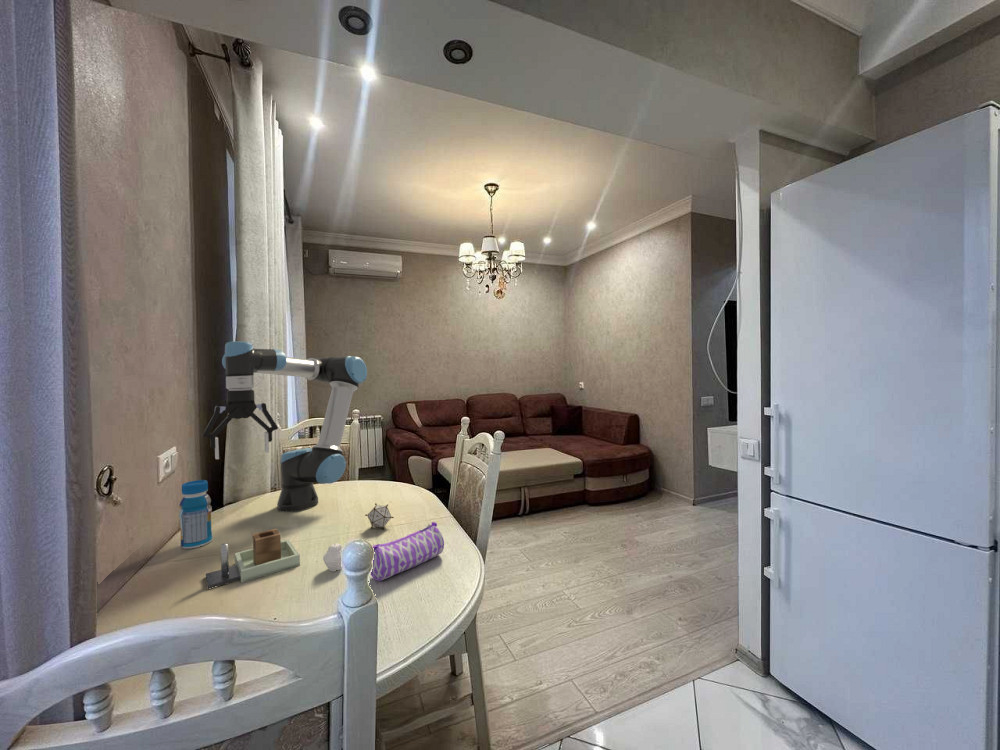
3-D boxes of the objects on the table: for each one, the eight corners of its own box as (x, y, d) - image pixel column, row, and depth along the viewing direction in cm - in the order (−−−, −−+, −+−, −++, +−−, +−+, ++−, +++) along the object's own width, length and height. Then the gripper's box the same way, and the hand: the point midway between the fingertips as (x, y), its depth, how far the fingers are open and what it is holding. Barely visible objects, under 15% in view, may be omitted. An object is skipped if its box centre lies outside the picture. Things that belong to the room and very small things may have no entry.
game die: (378, 540, 137) (366, 524, 131) (369, 525, 143) (357, 509, 137) (401, 523, 141) (390, 506, 135) (390, 509, 146) (380, 492, 141)
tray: (289, 548, 123) (288, 539, 123) (300, 565, 113) (299, 554, 113) (235, 563, 114) (234, 553, 114) (241, 582, 104) (241, 571, 104)
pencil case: (427, 547, 122) (426, 517, 122) (448, 556, 116) (448, 524, 116) (363, 578, 105) (362, 542, 105) (384, 589, 99) (383, 552, 99)
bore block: (276, 555, 118) (276, 528, 118) (281, 562, 113) (280, 534, 113) (253, 561, 114) (252, 534, 114) (256, 569, 109) (255, 540, 109)
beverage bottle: (191, 551, 123) (189, 487, 123) (173, 547, 126) (171, 485, 126) (218, 540, 131) (217, 480, 131) (201, 537, 134) (199, 478, 134)
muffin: (349, 562, 114) (348, 538, 113) (344, 573, 107) (344, 547, 107) (326, 564, 113) (326, 540, 112) (320, 575, 106) (319, 549, 106)
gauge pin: (241, 567, 112) (240, 535, 112) (244, 578, 106) (243, 544, 106) (205, 577, 107) (204, 544, 107) (207, 589, 101) (206, 554, 101)
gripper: (192, 392, 117) (194, 463, 117) (286, 387, 133) (288, 450, 133) (190, 391, 123) (193, 459, 123) (281, 387, 139) (283, 447, 139)
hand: (242, 455), depth 128 cm, fingers open, 13 cm apart
